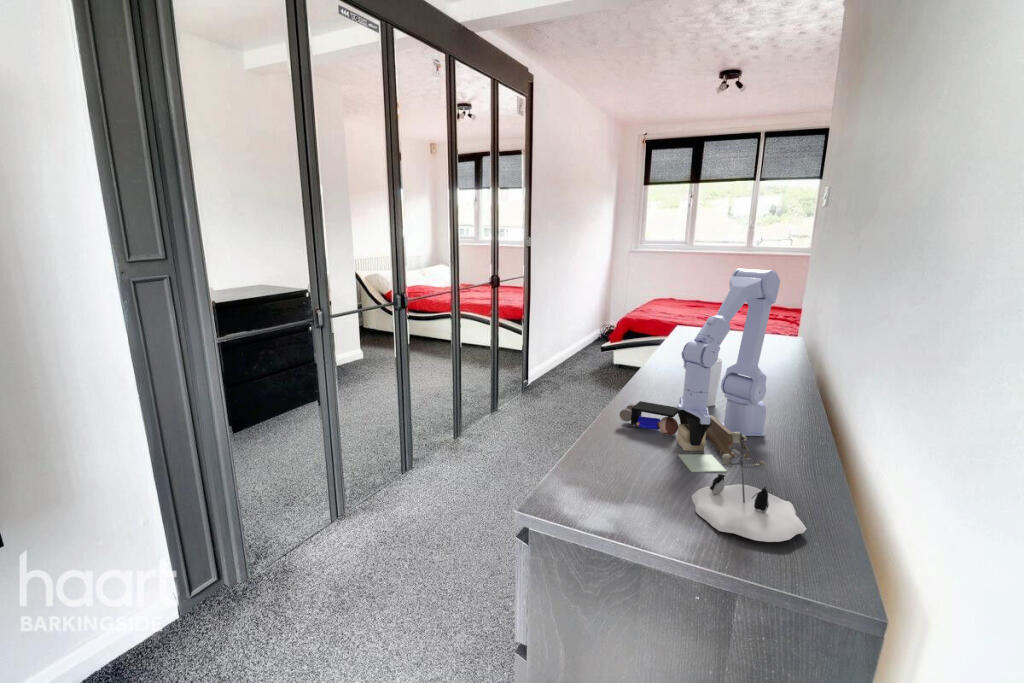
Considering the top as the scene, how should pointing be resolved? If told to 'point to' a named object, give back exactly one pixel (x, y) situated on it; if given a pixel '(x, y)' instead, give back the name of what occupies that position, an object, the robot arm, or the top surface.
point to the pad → (701, 463)
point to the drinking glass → (714, 382)
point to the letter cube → (688, 439)
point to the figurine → (746, 506)
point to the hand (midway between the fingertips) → (690, 440)
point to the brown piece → (720, 436)
